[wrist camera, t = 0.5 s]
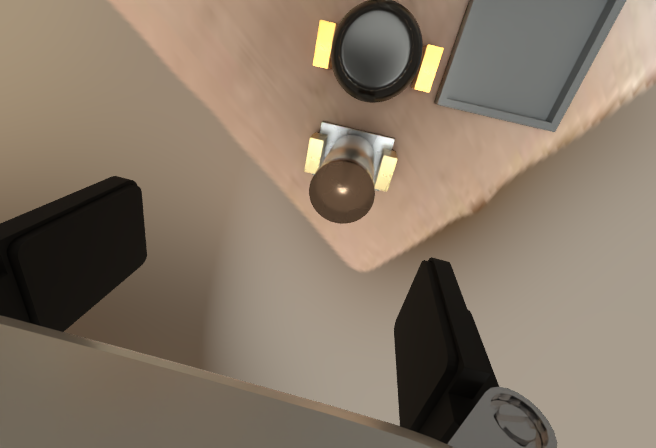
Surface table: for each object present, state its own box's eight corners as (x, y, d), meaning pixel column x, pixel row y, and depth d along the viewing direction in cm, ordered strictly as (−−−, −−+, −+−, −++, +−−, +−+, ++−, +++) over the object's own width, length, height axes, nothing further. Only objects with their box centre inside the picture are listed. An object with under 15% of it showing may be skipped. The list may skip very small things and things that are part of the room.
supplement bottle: (425, 64, 30) (452, 61, 19) (368, 110, 33) (363, 130, 22) (385, -3, 28) (390, -45, 17) (327, 52, 31) (301, 43, 20)
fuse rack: (352, -142, 24) (335, -298, 14) (490, -112, 24) (578, -251, 14) (300, 169, 36) (270, 210, 26) (391, 192, 36) (397, 242, 26)
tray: (483, -39, 26) (489, -46, 24) (618, -10, 26) (634, -15, 24) (434, 102, 31) (437, 104, 30) (545, 128, 31) (554, 132, 29)
